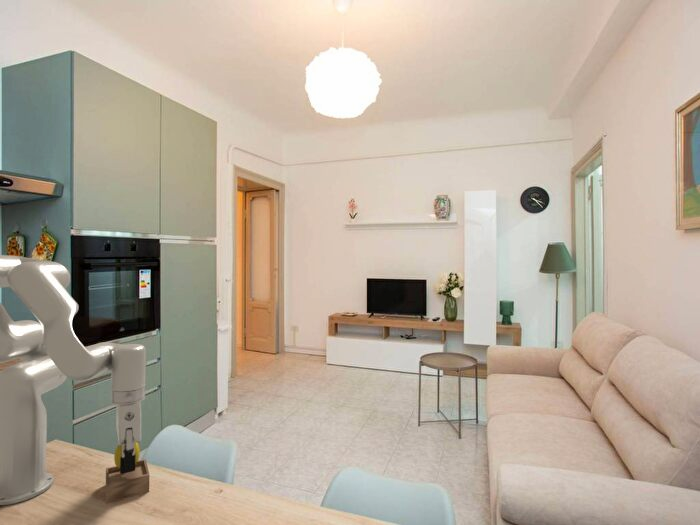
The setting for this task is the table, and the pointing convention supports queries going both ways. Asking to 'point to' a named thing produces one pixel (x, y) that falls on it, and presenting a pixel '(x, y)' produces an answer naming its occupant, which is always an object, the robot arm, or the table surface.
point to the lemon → (119, 453)
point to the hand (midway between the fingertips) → (126, 465)
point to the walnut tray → (126, 482)
